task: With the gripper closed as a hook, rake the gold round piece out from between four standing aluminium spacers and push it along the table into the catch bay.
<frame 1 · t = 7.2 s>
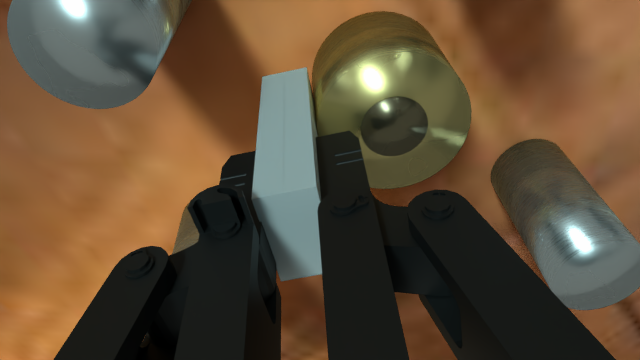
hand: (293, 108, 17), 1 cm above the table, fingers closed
spacers: (335, 85, 18), on the table
gold round piece: (376, 76, 18), on the table, touching gripper
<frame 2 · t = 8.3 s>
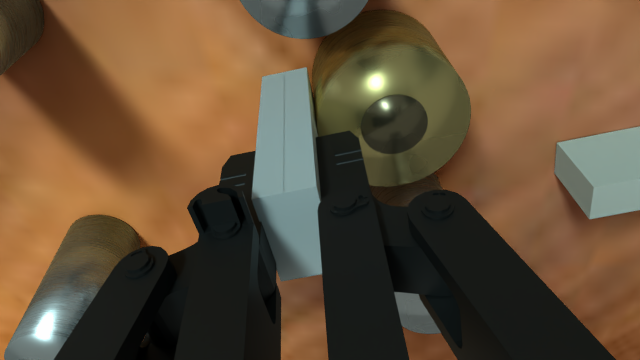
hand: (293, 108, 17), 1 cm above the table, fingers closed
spacers: (198, 112, 19), on the table
gold round piece: (376, 74, 18), on the table, touching gripper
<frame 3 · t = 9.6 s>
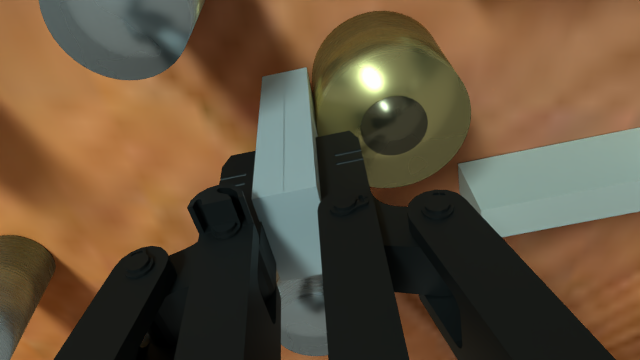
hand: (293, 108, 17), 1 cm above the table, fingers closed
spacers: (96, 136, 19), on the table
gold round piece: (376, 75, 18), on the table, touching gripper
bay: (589, 31, 18), on the table
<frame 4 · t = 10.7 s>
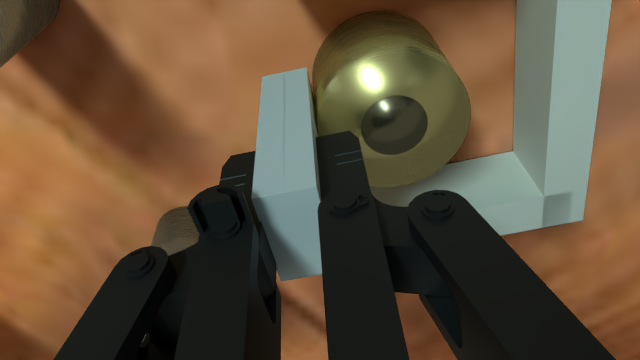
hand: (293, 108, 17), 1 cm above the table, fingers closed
gold round piece: (376, 75, 18), on the table, touching gripper
bay: (437, 61, 18), on the table
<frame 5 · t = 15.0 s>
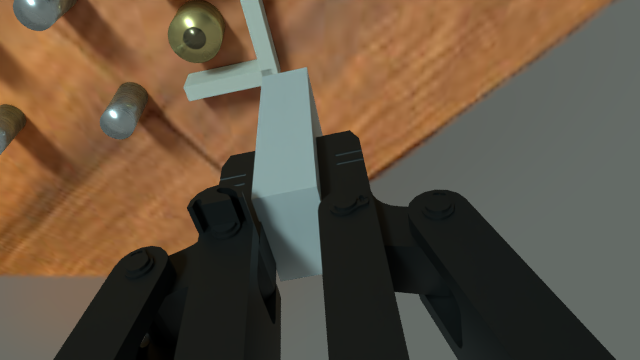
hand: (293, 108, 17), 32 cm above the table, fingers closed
spacers: (39, 60, 49), on the table
gold round piece: (200, 24, 48), on the table
bay: (220, 19, 48), on the table
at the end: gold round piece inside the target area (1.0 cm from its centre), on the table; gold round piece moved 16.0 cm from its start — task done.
